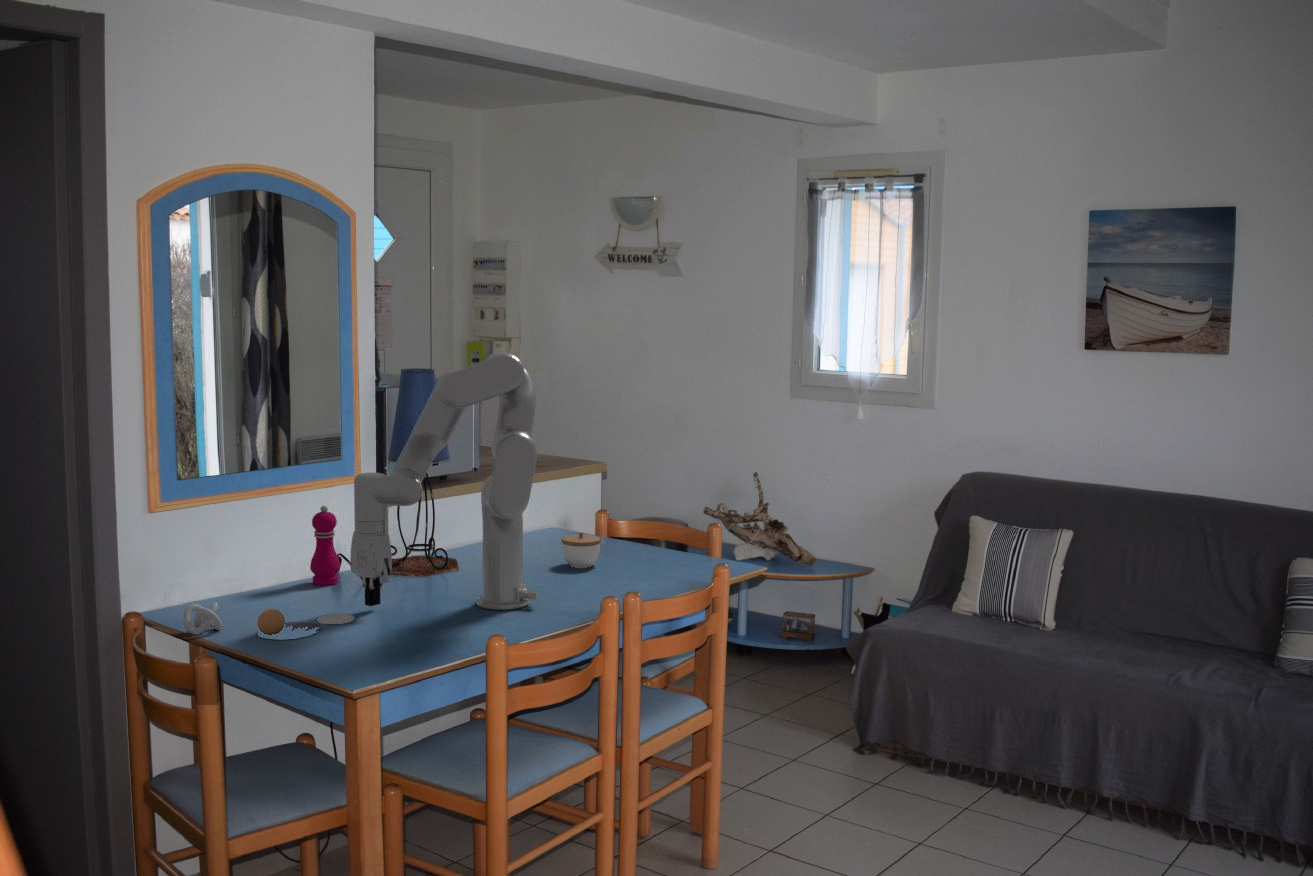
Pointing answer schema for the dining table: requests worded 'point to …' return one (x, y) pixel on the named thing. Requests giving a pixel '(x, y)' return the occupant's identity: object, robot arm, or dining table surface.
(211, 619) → the knot
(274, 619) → the ball
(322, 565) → the pepper mill
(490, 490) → the robot arm
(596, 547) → the lidded jar
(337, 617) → the plain round gray disc
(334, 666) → the dining table surface
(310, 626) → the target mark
